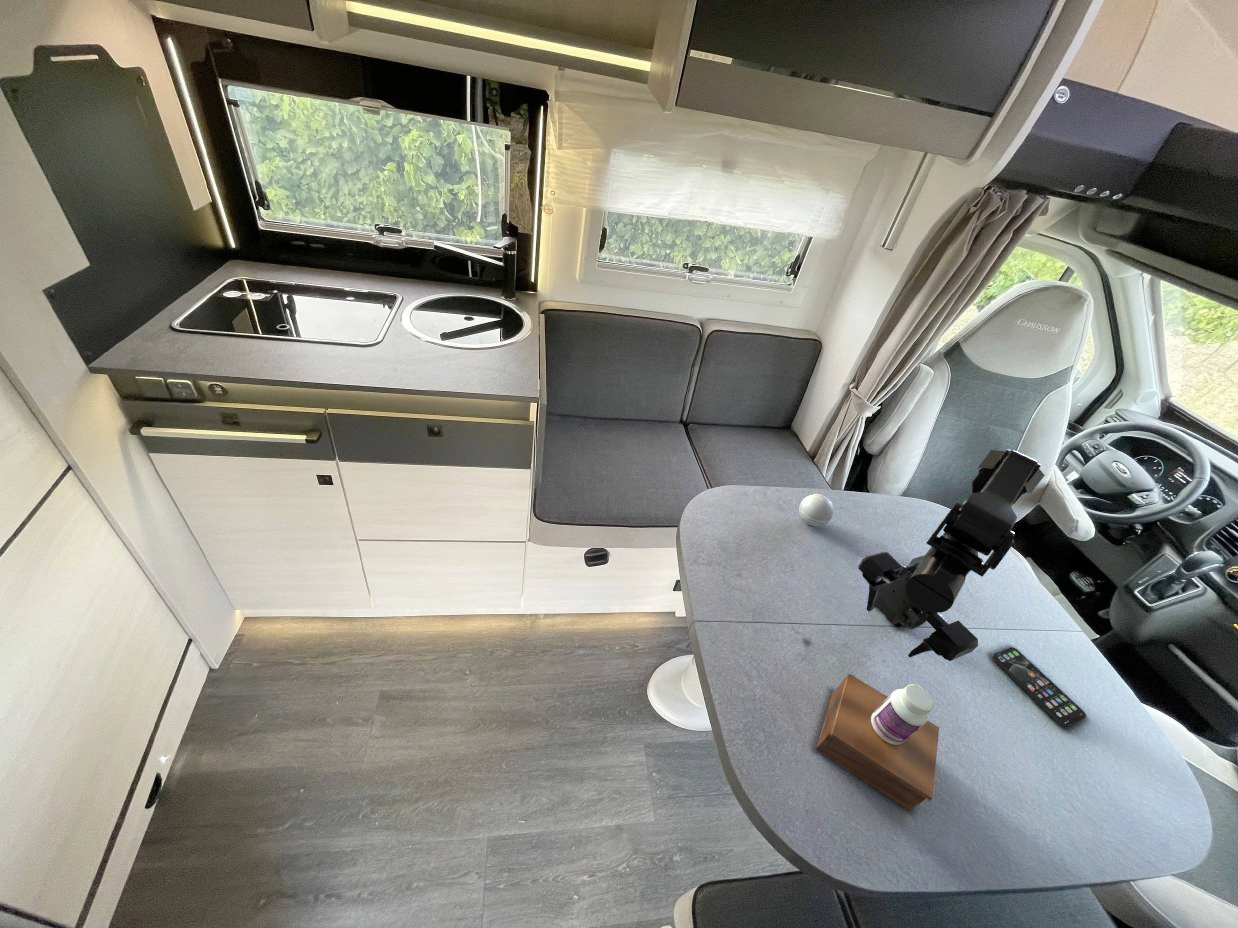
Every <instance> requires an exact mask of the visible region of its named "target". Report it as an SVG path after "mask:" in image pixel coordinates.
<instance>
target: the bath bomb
mask: <svg viewBox="0 0 1238 928" xmlns="http://www.w3.org/2000/svg"><path fill="white" fill-rule="evenodd" d="M798 512H799V516H800V518H801V519H802V521H803V522H804V523H805V524H807V525H809V526H811V527H823V526H825V525H827V524H828V523H830V521H831V520H832V519H833V517H834V514H835V513H834V512H835V508H834V504H833V503H832V501H831V500H830V499H829V498H828V497H827V496H825V495H823V494H821V493H811V494H809V495H807V496H805V497H804V498H803V499H802V500H801V502H800V503H799V507H798Z"/></svg>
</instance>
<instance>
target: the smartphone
mask: <svg viewBox="0 0 1238 928" xmlns="http://www.w3.org/2000/svg"><path fill="white" fill-rule="evenodd" d="M991 658H992V660H993V661H994V662H995V663H996V664H997V665H998V666H999V667H1000V668H1001V669H1002V670H1003V671H1005V673H1006V674H1007V675H1008V676H1010V678H1011V679H1012V680H1013V681H1015V683H1017V685H1018V686H1020V687H1021V688H1022V689H1023V690H1024V692H1025V693H1026V694H1028V696H1030V697H1031V699H1033V700H1034V701H1035V703H1037V704H1038V705H1039V706H1040V707H1041V708H1042V709H1043V710H1044V711H1045V712H1046V714H1048V715H1049V716H1050V718H1052V719H1053V720H1054V721H1055V722H1056V723H1057V724H1058V725H1060V726H1061V727H1062V728H1064V729H1065V728H1066V729H1067V728H1070V727H1071V726H1073V725H1075V724H1076V723H1079V722H1081V721H1082V720H1084V719H1086V718H1087V714H1086V713H1085V711H1084V710H1083V709H1082V708H1081V707H1080V706H1079V705H1077V704H1076V703H1075V702H1074V701H1073V700H1072V699H1071V698H1070V697H1069V696H1068V695H1067V694H1066V693H1065V692H1064V691H1063V690H1061V689H1060V688H1059V687H1058V686H1057V685H1056V684H1055V683H1054V682H1053V680H1051V679H1050V678H1049V677H1047V675H1046V674H1044V672H1042V671H1041V670H1040V669H1039V668H1037V666H1036V665H1034V664H1033V662H1031V661H1030V660H1029V659H1028V658H1027V657H1026V656H1025V655H1024V654H1023V653H1022V652H1021V651H1020V650H1019V649H1017V648H1016V647H1014V646H1013V647H1012V646H1011V647H1008V648H1005V649H1003V650H1000V651H998V652H995V653H994V654H993V655H992V656H991Z"/></svg>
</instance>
